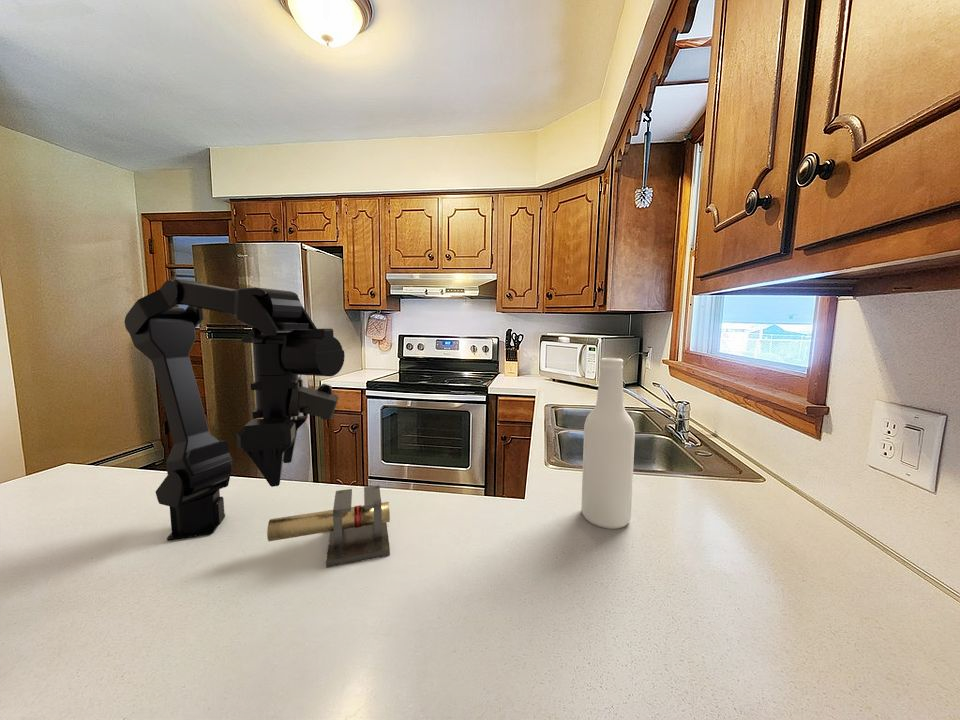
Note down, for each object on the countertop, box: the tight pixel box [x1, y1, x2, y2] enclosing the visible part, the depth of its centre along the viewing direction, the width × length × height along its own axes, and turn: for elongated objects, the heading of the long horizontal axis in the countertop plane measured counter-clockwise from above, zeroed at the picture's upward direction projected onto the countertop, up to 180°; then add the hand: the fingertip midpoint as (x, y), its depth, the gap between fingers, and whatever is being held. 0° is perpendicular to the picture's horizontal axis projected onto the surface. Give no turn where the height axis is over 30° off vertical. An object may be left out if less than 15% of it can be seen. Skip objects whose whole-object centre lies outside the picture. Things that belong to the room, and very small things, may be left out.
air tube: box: [266, 501, 391, 542], centre depth 58 cm, size 18×3×3 cm, turn 108°
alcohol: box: [580, 357, 636, 530], centre depth 66 cm, size 9×9×30 cm
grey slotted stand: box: [325, 484, 391, 569], centre depth 60 cm, size 9×12×7 cm
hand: (281, 473), depth 55 cm, fingers open, 9 cm apart
